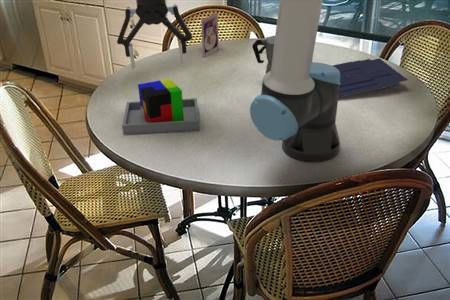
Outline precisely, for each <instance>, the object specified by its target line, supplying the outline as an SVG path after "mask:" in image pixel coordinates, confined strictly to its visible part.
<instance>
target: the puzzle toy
mask: <svg viewBox="0 0 450 300" xmlns="http://www.w3.org/2000/svg"><path fill="white" fill-rule="evenodd" d="M137 88H138V97H139V101H140V105H141V114H142V116H143V118H144V119H145V121H146V122H147V123H154V122H171V121H184V114H183V100H182V99H183V90H182V89H181V88H180V87H179V86H178V85H177V84H176V83H175V82H174V81H173V79H171V78H166V79H165V78H164V79H159V80H154V81H150V82H149V81H148V82H145V83H143V82H142V83H139V84H137Z"/></svg>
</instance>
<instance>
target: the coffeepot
mask: <svg viewBox="0 0 450 300" xmlns="http://www.w3.org/2000/svg"><path fill="white" fill-rule="evenodd" d="M274 42H275V35H271V36H266V37H265V38H261V39H256V40H255V41H254V42H253V44H252V50H253V52H254V55H255V58H256V62H257V63H258V64H263V63H264V62H265V60H263V59H261V54H259V50H260V49H259V48H258V46H265V55H266V60H267V65H266V68H265V74H266V73H268V72H269V71H271V66H272V58H273V50H274ZM265 74H264V75H265Z"/></svg>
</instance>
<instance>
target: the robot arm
mask: <svg viewBox="0 0 450 300" xmlns="http://www.w3.org/2000/svg"><path fill="white" fill-rule="evenodd" d="M135 1H136V7H135V8H131V7H129V6H127V7H126V8H125V12H124V14H125V18H124V21H123V23H122V26H121V29H120V32H119V35H118V37H117V41H116V42H117V43H116V44H118V45H123V47H124V51H125V53H124V54H125V56H126V58H129V59H130V66H131V67H130V69H131V70H135V68H136V64H135V56H134V54H135V53H134V48H133V47H134V46H133V43H131V42H132V41H133V39H134V38H135V37H136V35H137V34H138V32H139V31H140V29H141V28H142V27H143V26H144V24H145V25H147V26H151V25H160V24H163V26H165V28H167V29H168V30H169V31H170V32H171V33H172V34H173V35H174V36H175V37H176V38H177V39H178V47H179V49H178V51H179V60H180V61H179V62H180V67H184V55H183V54H187V42H188V41H192V39H193V34H192V32H191V31H190V29H189V27H188V26H187V24H186V23H185V21H184V19H183V17H182V16H181V14H180V12H179V8H178V7H179V6H178V5H177V4H174V5H171V6H168V5H166V0H135ZM323 1H324V0H279V1H278V2H279V3H278V11H277V19H276V26H275V27H276V28H275V34H274V36H275V42H274V50H273V58H272V66H271V71H269V72H268V73H266V72H265V73H266V74H264V75H263V78H262V83H261V90H260V91H261V93H260V95H257V96H255V98H253V100H252V102H251V103H250V107H249V114H250V119H251V121H252V123H253V125H254V126H255V127H256V129H257V131H258V132H259V133H260V134H261V135H263V136H264V137H265V138H267V139H269V140H273V141H276V142H281V147H282V150H283V152H284V153H285V154H286V155H288V156H289V157H290V158H293V159H294V160H299V161H302V162H310V163H320V162H325V161H328V160H332V159H333V158H335V157H336V156H337V155H338V154H339V152H340V146H341V140H340V136H339V131H338V128H337V125H336V121H337V113H338V112H337V111H338V102H339V98H338V96H339V88H340V84H341V83H340V72H339V70H338V69H337V68H335V67H334V66H332V65H331V64H328V63H323V62H318V61H317V62H316V61H313V57H314V51H315V45H316V40H317V34H318V28H319V23H320V19H321V13H322V7H323ZM168 13H170V14H171V15H172V16H174V18H175V20H176V22H177V23H178V25H179V27H180V28H181V30H182V31H183V33H182V32H181V31H180V30H179V29H178V27H176V26H175V24H173V23H172V22H171V21H170V20H169V18H168V17H167V14H168ZM135 14H136V16H137V17H138V18H139V19H138V20H137V23H136V24H135V25H134V27H133V28H132V29H131V31H130V32H129V34H128V35H127V36H126V38H124V37H125V34H126V31H127V29H128V26H129V23H130V19H131V18H133V17H134V15H135ZM184 34H185V35H184Z"/></svg>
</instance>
